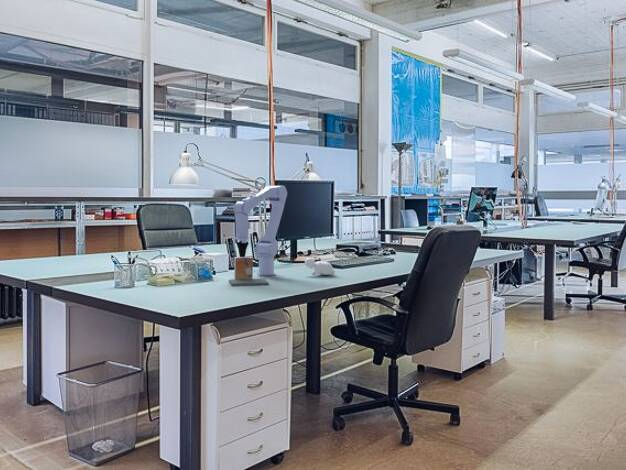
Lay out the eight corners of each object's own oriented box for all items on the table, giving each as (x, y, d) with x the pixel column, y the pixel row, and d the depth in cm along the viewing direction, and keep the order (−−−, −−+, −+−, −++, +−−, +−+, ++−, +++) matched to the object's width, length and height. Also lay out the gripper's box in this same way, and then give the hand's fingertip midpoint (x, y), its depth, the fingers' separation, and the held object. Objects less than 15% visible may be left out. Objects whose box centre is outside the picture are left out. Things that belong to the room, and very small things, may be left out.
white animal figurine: (328, 280, 288) (300, 269, 285) (334, 264, 288) (306, 253, 285) (331, 282, 280) (302, 271, 277) (338, 266, 280) (309, 255, 277)
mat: (228, 281, 261) (228, 279, 261) (264, 280, 265) (264, 278, 265) (231, 286, 250) (231, 283, 250) (268, 284, 253) (268, 282, 253)
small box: (235, 281, 263) (234, 258, 262) (234, 279, 269) (234, 256, 268) (252, 280, 265) (252, 257, 264) (251, 279, 270) (251, 256, 270)
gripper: (231, 227, 275) (232, 255, 276) (235, 229, 261) (235, 259, 262) (246, 227, 277) (247, 255, 278) (250, 228, 262) (250, 259, 263)
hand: (242, 257), depth 270 cm, fingers closed
